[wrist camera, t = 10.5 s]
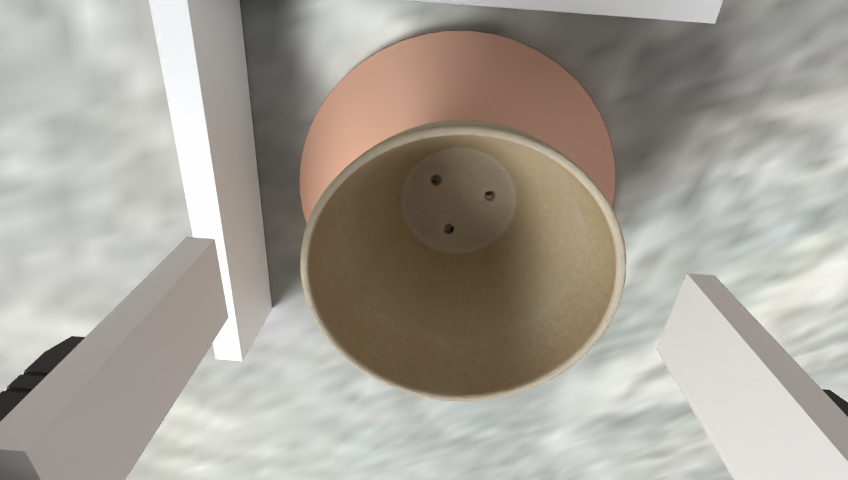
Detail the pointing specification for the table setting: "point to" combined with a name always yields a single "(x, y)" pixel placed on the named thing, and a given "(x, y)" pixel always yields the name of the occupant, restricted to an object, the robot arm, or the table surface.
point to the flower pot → (463, 261)
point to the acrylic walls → (234, 138)
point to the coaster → (454, 104)
